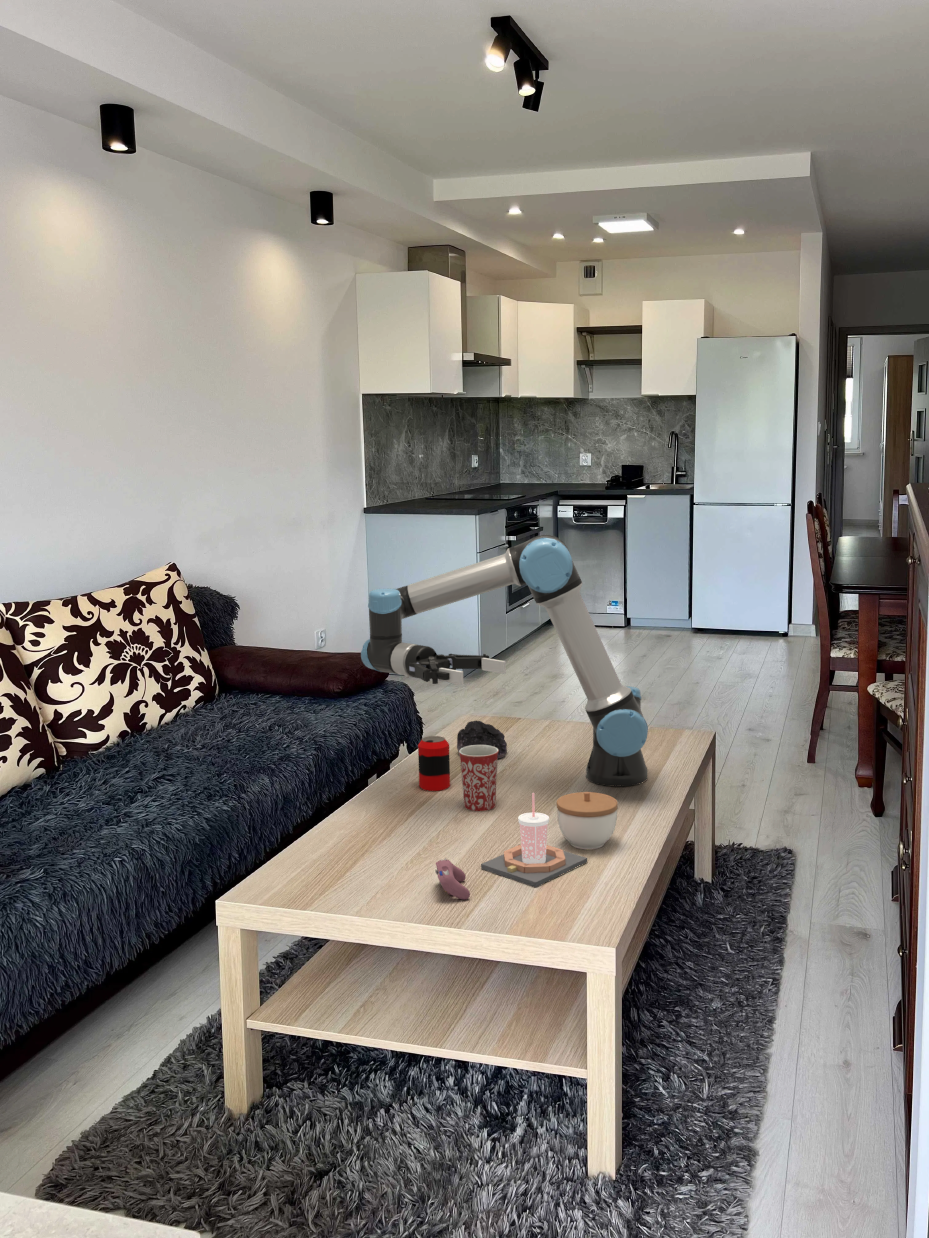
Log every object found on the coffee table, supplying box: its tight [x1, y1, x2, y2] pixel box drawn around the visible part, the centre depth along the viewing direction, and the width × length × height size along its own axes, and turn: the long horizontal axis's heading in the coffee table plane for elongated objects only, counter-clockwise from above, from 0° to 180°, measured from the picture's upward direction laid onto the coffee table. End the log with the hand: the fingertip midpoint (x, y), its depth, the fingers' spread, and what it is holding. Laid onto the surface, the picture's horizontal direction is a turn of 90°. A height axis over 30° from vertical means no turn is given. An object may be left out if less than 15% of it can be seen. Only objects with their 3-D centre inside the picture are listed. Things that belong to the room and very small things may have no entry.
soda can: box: [417, 735, 451, 792], centre depth 266 cm, size 8×8×12 cm
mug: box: [458, 745, 499, 812], centre depth 252 cm, size 13×9×14 cm
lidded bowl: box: [556, 791, 619, 850], centre depth 226 cm, size 13×13×11 cm
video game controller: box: [435, 857, 471, 901], centre depth 204 cm, size 10×5×7 cm, turn 5°
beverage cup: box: [517, 792, 550, 864], centre depth 214 cm, size 6×6×14 cm
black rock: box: [456, 720, 508, 760], centre depth 291 cm, size 13×14×10 cm
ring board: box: [480, 844, 588, 888], centre depth 215 cm, size 16×14×2 cm
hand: (483, 672), depth 235 cm, fingers open, 13 cm apart
